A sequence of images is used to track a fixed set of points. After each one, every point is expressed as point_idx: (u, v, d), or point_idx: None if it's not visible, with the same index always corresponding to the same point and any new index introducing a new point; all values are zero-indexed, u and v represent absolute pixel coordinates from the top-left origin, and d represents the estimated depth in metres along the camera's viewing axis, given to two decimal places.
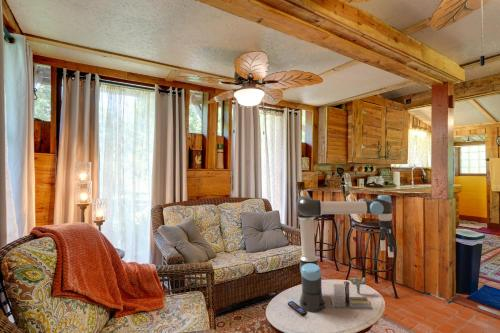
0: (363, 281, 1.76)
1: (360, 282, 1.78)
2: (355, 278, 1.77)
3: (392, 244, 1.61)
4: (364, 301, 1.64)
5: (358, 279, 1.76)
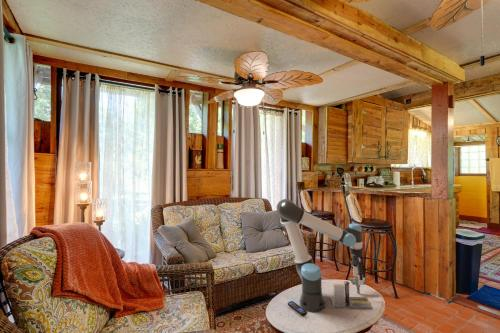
0: (363, 281, 1.76)
1: None
2: (355, 278, 1.77)
3: (361, 273, 1.67)
4: (364, 301, 1.64)
5: (358, 279, 1.76)
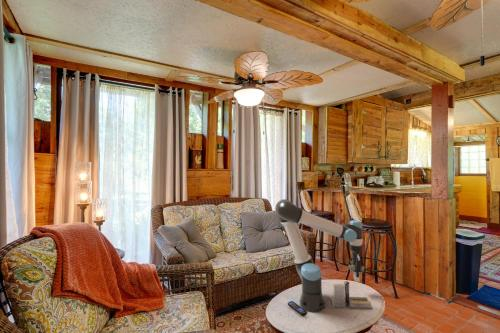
0: (362, 269, 1.75)
1: None
2: (354, 266, 1.77)
3: (358, 270, 1.72)
4: (364, 301, 1.64)
5: None
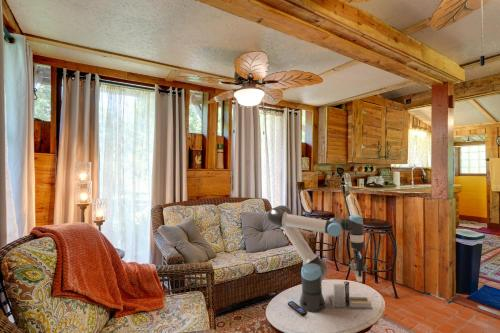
0: None
1: None
2: (355, 264, 1.64)
3: (360, 269, 1.59)
4: (364, 301, 1.64)
5: None
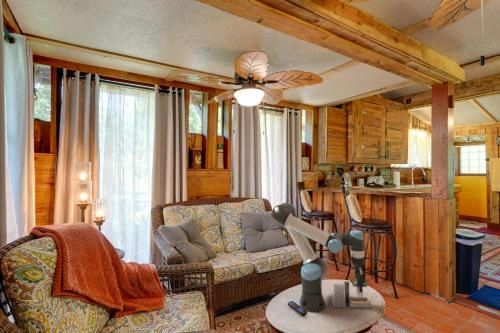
0: (365, 283, 1.62)
1: None
2: (356, 280, 1.64)
3: (361, 285, 1.58)
4: (364, 301, 1.64)
5: None
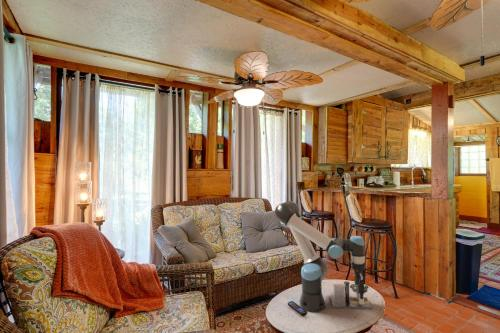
0: (365, 289, 1.62)
1: None
2: (356, 285, 1.64)
3: (362, 292, 1.56)
4: (364, 301, 1.64)
5: None
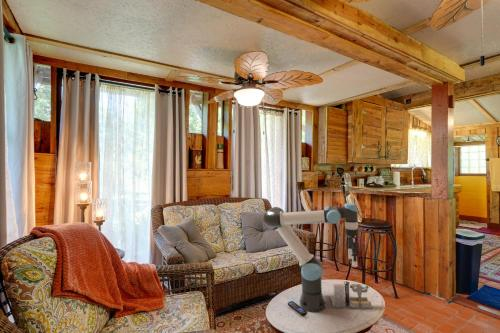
0: (365, 289, 1.62)
1: None
2: (356, 285, 1.64)
3: (355, 254, 1.59)
4: (364, 301, 1.64)
5: (359, 286, 1.62)
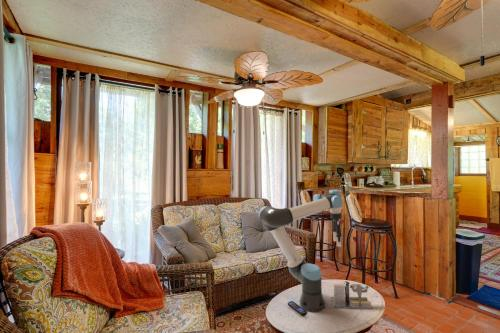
0: (365, 289, 1.62)
1: None
2: (356, 285, 1.64)
3: (339, 234, 1.75)
4: (364, 301, 1.64)
5: (359, 286, 1.62)
